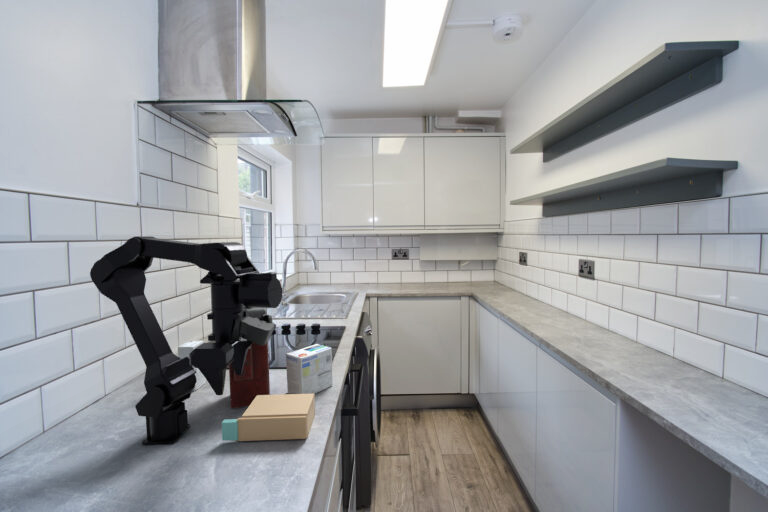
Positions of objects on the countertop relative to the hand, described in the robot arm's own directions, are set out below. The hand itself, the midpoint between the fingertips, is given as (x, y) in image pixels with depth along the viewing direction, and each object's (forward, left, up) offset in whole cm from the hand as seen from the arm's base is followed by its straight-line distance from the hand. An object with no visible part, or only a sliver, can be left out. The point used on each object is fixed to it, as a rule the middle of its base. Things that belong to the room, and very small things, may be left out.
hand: (229, 384), depth 68 cm
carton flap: (+7, 0, -11) cm, 13 cm away
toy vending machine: (-3, +18, -12) cm, 22 cm away
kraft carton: (+8, +5, -12) cm, 15 cm away
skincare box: (-22, +27, -12) cm, 37 cm away
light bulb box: (+11, +23, -12) cm, 28 cm away
